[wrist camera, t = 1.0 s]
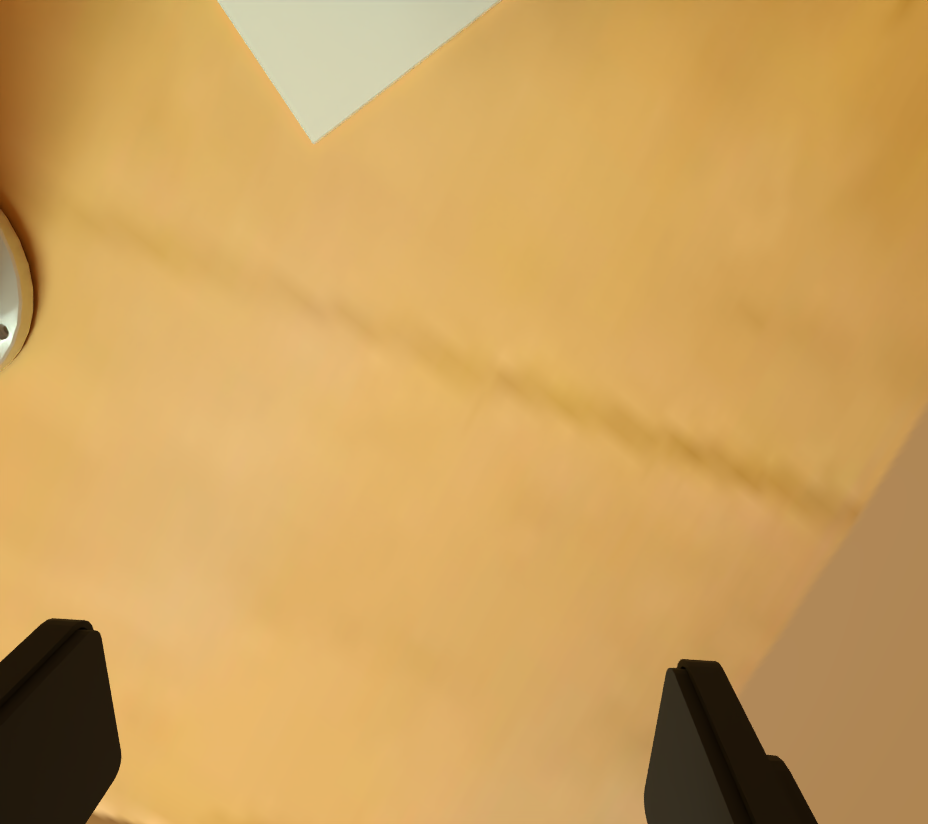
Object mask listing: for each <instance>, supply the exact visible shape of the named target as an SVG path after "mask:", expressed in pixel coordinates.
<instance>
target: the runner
mask: <svg viewBox="0 0 928 824" xmlns="http://www.w3.org/2000/svg"><path fill="white" fill-rule="evenodd" d="M217 1H218V2H219V4H220V5H221V7H222V8H223V10H224V11H225V13H226V14H227V16H228V17H229V19H230V20H231V22H232V23H233V25H234V26H235V28H236V29H237V31H238V32H239V34H240V35H241V37H242V38H243V40H244V41H245V43H246V44H247V46H248V47H249V49H250V50H251V52H252V53H253V55H254V56H255V58H256V59H257V61H258V62H259V64H260V65H261V67H262V68H263V70H264V71H265V73H266V74H267V76H268V77H269V79H270V80H271V82H272V83H273V85H274V86H275V88H276V89H277V91H278V92H279V94H280V95H281V97H282V98H283V100H284V101H285V103H286V104H287V106H288V107H289V109H290V110H291V112H292V113H293V115H294V116H295V118H296V119H297V121H298V122H299V124H300V125H301V127H302V128H303V130H304V131H305V133H306V134H307V136H308V137H309V139H310V140H311V142H312V143H313V144H316V143H317V142H318V141H320V140H321V139H322V138H323V137H325V136H326V135H327V134H329V133H330V132H331V131H333V130H334V129H335V128H336V127H338V126H339V125H340V124H342V123H343V122H344V121H346V120H347V119H348V118H349V117H351V116H352V115H353V114H355V113H356V112H357V111H359V110H360V109H361V108H362V107H364V106H365V105H366V104H368V103H369V102H370V101H372V100H373V99H374V98H375V97H377V96H378V95H379V94H381V93H382V92H383V91H385V90H386V89H387V88H388V87H390V86H391V85H392V84H394V83H395V82H396V81H398V80H399V79H400V78H401V77H403V76H404V75H405V74H407V73H408V72H409V71H411V70H412V69H413V68H414V67H416V66H417V65H418V64H420V63H421V62H422V61H424V60H425V59H426V58H427V57H429V56H430V55H431V54H433V53H434V52H435V51H437V50H438V49H439V48H440V47H442V46H443V45H444V44H446V43H447V42H448V41H450V40H451V39H452V38H453V37H455V36H456V35H457V34H459V33H460V32H461V31H463V30H464V29H465V28H466V27H468V26H469V25H470V24H472V23H473V22H474V21H476V20H477V19H478V18H479V17H481V16H482V15H483V14H485V13H486V12H487V11H489V10H490V9H491V8H492V7H494V6H495V5H496V4H498V3H499V2H500V1H502V0H217Z"/></svg>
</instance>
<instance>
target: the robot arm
mask: <svg viewBox="0 0 928 824" xmlns="http://www.w3.org/2000/svg"><path fill="white" fill-rule="evenodd" d="M32 314H33V285H32V280H31V275H30V269H29V264H28V262H27V259H26V256H25V253H24V251H23V248H22V245H21V243H20V240H19V238H18V237H17V235H16V233H15V231H14V229H13V228H12V226H11V224H10V222H9V220H8V219H7V217H6V216H5V214H4V213H3V212H2V211H1V209H0V372H1V371H2V370H3V369H4V368H6V367H7V366H8V365H9V364H10V363H11V362H12V361H13V359H14V358H15V357H16V355H17V354H18V353H19V351H20V350H21V348H22V346H23V344H24V342H25V339H26V337H27V335H28V333H29V329H30V324H31V319H32ZM120 763H121V749H120V743H119V737H118V731H117V725H116V720H115V714H114V708H113V702H112V696H111V690H110V685H109V679H108V673H107V667H106V661H105V655H104V649H103V644H102V638H101V635H100V633H99V632H98V631H95V630H93V627H92V625H91V624H90V623H89V622H88V621H85V620H70V619H55V618H52V619H49V620H46V621H45V622H44V623H42V624H41V625H40V626H39V627H38V628H37V629H36V630H34V631H33V632H32V633H31V634H30V635H29V636H28V637H27V638H26V639H25V640H24V641H23V642H22V643H20V644H19V645H18V646H17V647H16V648H15V649H14V650H13V651H12V652H11V653H10V654H9V655H7V656H6V657H5V658H4V659H3V660H2V661H1V662H0V824H85V823H86V822H87V820H88V819H89V817H90V816H91V814H92V813H93V811H94V810H95V808H96V807H97V805H98V804H99V802H100V801H101V799H102V798H103V796H104V795H105V793H106V792H107V790H108V789H109V787H110V785H111V784H112V782H113V781H114V779H115V777H116V775H117V773H118V770H119V767H120ZM644 807H645V814H646V819H647V823H648V824H818V823H817V821H816V819H815V817H814V815H813V814H812V812H811V810H810V808H809V806H808V804H807V802H806V800H805V799H804V797H803V795H802V793H801V791H800V789H799V787H798V785H797V784H796V782H795V780H794V778H793V776H792V774H791V772H790V771H789V769H788V768H787V766H786V765H785V763H784V762H783V761H782V760H781V759H780V758H779V757H777V756H773V755H766V753H765V751H764V749H763V747H762V745H761V743H760V742H759V739H758V738H757V736H756V734H755V732H754V729H753V728H752V726H751V724H750V722H749V720H748V718H747V716H746V714H745V712H744V710H743V708H742V706H741V704H740V702H739V700H738V698H737V696H736V694H735V692H734V690H733V688H732V686H731V684H730V682H729V680H728V678H727V676H726V674H725V672H724V670H723V668H722V667H721V665H720V664H719V663H718V662H716V661H703V660H688V659H682V660H680V661H679V663H678V666H677V668H668V670H667V672H666V676H665V682H664V687H663V693H662V698H661V703H660V709H659V714H658V720H657V725H656V731H655V736H654V741H653V747H652V752H651V758H650V763H649V768H648V774H647V779H646V785H645V791H644Z"/></svg>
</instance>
